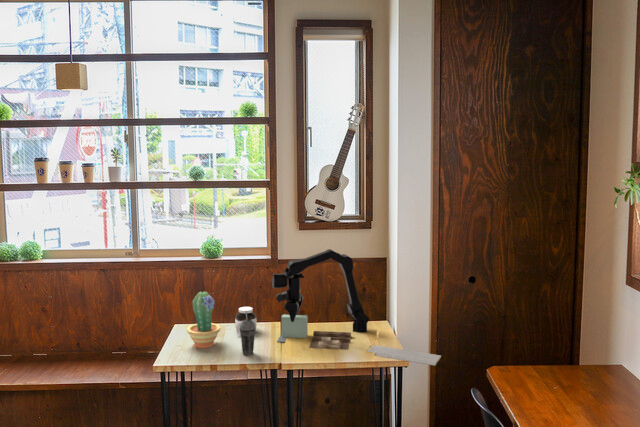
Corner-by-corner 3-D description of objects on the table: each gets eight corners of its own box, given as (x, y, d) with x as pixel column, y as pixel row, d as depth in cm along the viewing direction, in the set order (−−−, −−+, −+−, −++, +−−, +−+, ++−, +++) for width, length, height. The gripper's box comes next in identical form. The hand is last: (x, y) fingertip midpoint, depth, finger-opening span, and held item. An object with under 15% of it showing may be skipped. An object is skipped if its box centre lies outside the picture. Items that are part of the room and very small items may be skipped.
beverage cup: (258, 352, 270) (258, 308, 268) (251, 357, 263) (251, 313, 261) (244, 350, 273) (243, 307, 270) (236, 355, 266) (236, 311, 263)
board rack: (351, 338, 289) (351, 332, 289) (348, 351, 272) (348, 345, 271) (313, 336, 291) (313, 330, 291) (308, 349, 274) (308, 343, 273)
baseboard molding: (434, 368, 254) (441, 358, 265) (434, 361, 254) (441, 352, 264) (365, 356, 267) (374, 348, 278) (365, 350, 267) (374, 341, 277)
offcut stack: (340, 345, 277) (340, 337, 277) (339, 348, 273) (339, 340, 273) (318, 344, 279) (318, 336, 278) (317, 347, 275) (317, 339, 274)
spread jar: (252, 327, 304) (251, 305, 303) (261, 334, 295) (261, 311, 293) (229, 331, 298) (229, 308, 297) (238, 338, 289) (238, 314, 287)
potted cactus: (187, 351, 270) (186, 297, 267) (186, 340, 285) (185, 288, 282) (222, 348, 274) (221, 295, 271) (219, 337, 289) (218, 286, 286)
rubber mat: (311, 332, 297) (311, 331, 297) (306, 343, 281) (306, 342, 281) (283, 331, 298) (283, 330, 298) (276, 342, 283) (276, 341, 283)
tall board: (307, 335, 291) (307, 315, 290) (306, 338, 287) (306, 317, 286) (283, 334, 292) (282, 314, 291) (281, 337, 288) (281, 316, 287)
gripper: (281, 281, 297) (281, 312, 299) (273, 291, 278) (273, 324, 280) (303, 282, 295) (303, 313, 297) (297, 292, 277) (297, 325, 279)
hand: (294, 318), depth 288 cm, fingers open, 9 cm apart
